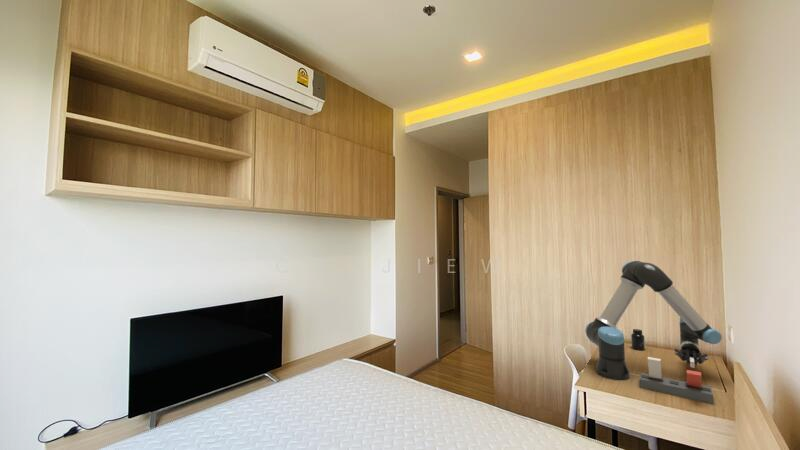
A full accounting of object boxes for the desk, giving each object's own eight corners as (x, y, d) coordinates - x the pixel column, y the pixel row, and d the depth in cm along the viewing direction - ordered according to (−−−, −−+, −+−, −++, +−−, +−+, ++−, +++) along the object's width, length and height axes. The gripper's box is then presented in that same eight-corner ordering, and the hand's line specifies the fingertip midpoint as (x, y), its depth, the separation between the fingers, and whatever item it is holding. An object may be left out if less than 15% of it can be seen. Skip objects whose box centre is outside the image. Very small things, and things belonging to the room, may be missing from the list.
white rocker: (648, 377, 159) (647, 358, 157) (648, 375, 160) (647, 356, 158) (661, 379, 156) (660, 361, 154) (661, 377, 157) (660, 359, 155)
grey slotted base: (639, 387, 159) (639, 378, 159) (641, 380, 165) (640, 371, 166) (713, 404, 142) (713, 393, 142) (711, 395, 149) (711, 385, 149)
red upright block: (686, 385, 150) (686, 372, 146) (686, 382, 151) (686, 369, 146) (701, 388, 147) (701, 375, 142) (701, 385, 148) (701, 372, 143)
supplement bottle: (645, 351, 203) (644, 332, 204) (632, 349, 207) (631, 330, 207) (644, 347, 209) (643, 329, 210) (631, 346, 213) (630, 327, 213)
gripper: (707, 360, 169) (711, 376, 151) (674, 354, 177) (674, 369, 159) (706, 345, 169) (710, 360, 151) (673, 340, 177) (674, 353, 159)
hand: (692, 364), depth 155 cm, fingers closed
